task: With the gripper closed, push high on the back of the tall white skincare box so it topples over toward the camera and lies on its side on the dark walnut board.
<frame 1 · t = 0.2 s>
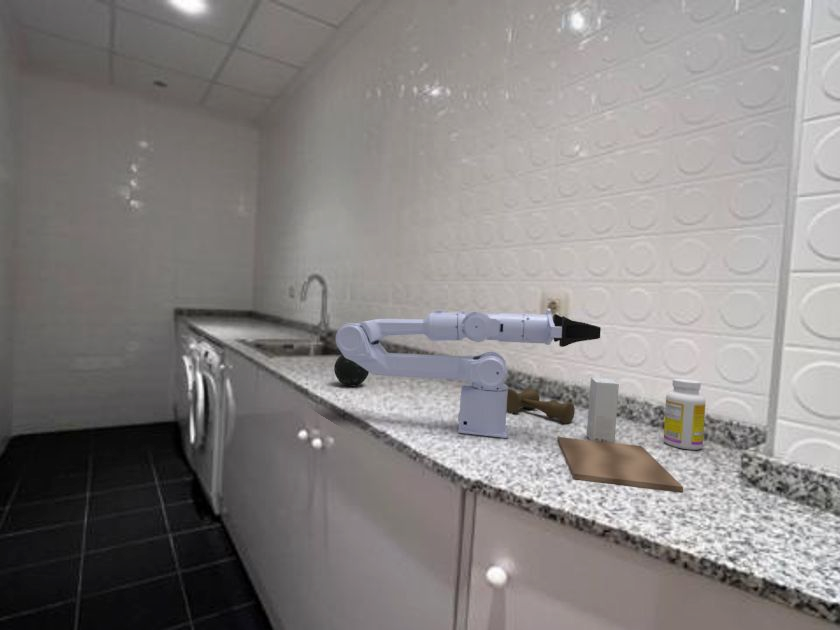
hand: (595, 331, 84), 22 cm above the worktop, tool horizontal, fingers open, 7 cm apart
kendama: (531, 415, 105), on the worktop
decorative stone: (350, 386, 127), on the worktop
skincare box: (599, 441, 86), on the worktop
walnut board: (611, 462, 74), on the worktop
supplement bottle: (682, 446, 86), on the worktop
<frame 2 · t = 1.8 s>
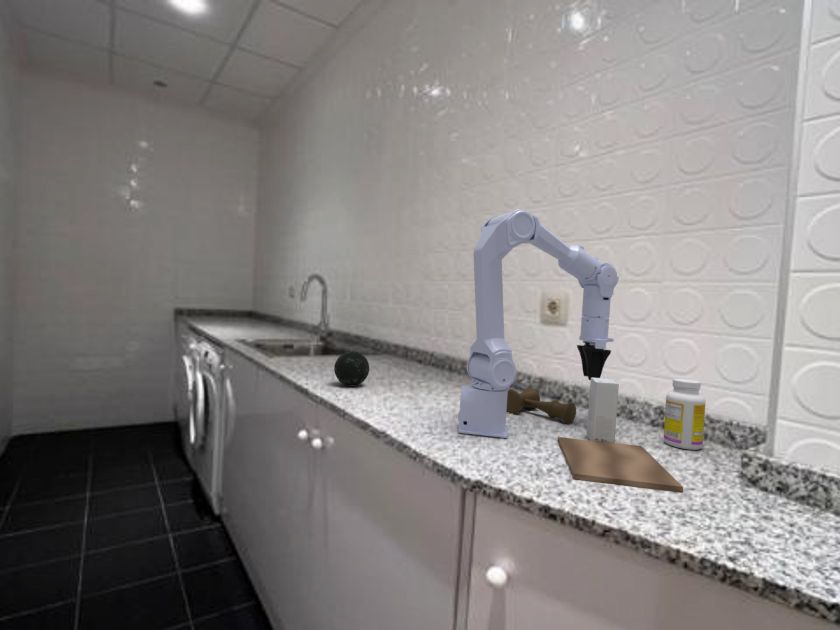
hand: (591, 378, 98), 10 cm above the worktop, tool pointing down, fingers open, 5 cm apart
nothing on the worktop moved.
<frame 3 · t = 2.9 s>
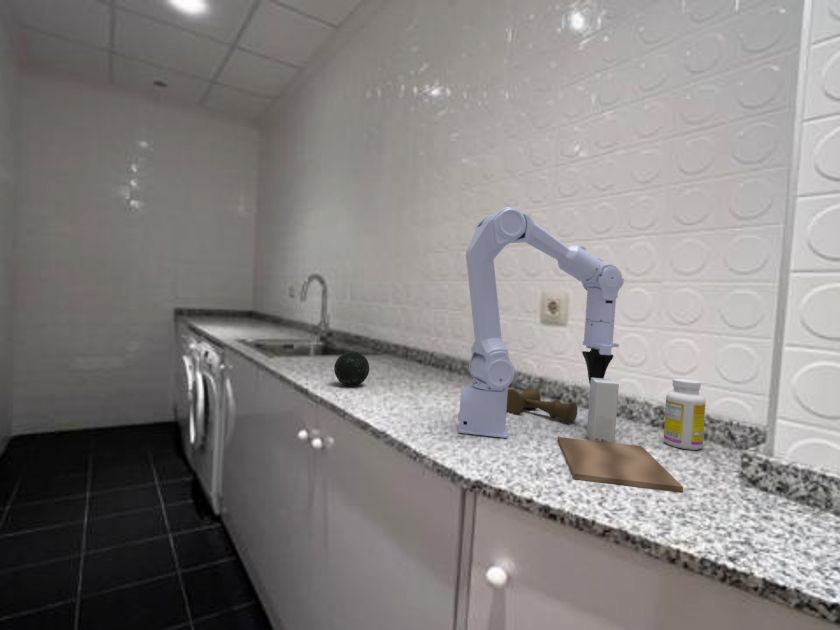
hand: (595, 385, 93), 10 cm above the worktop, tool pointing down, fingers closed
nothing on the worktop moved.
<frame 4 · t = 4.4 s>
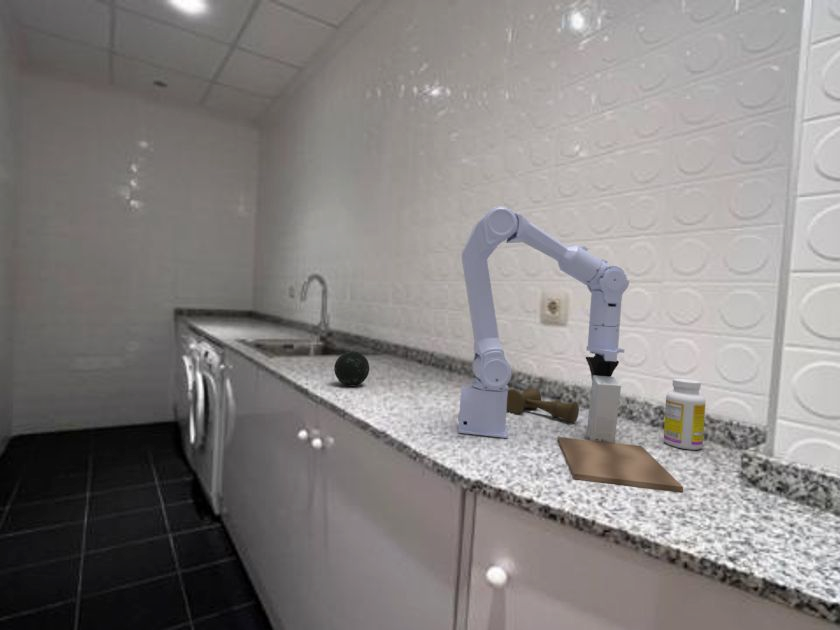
hand: (599, 392, 89), 9 cm above the worktop, tool pointing down, fingers closed
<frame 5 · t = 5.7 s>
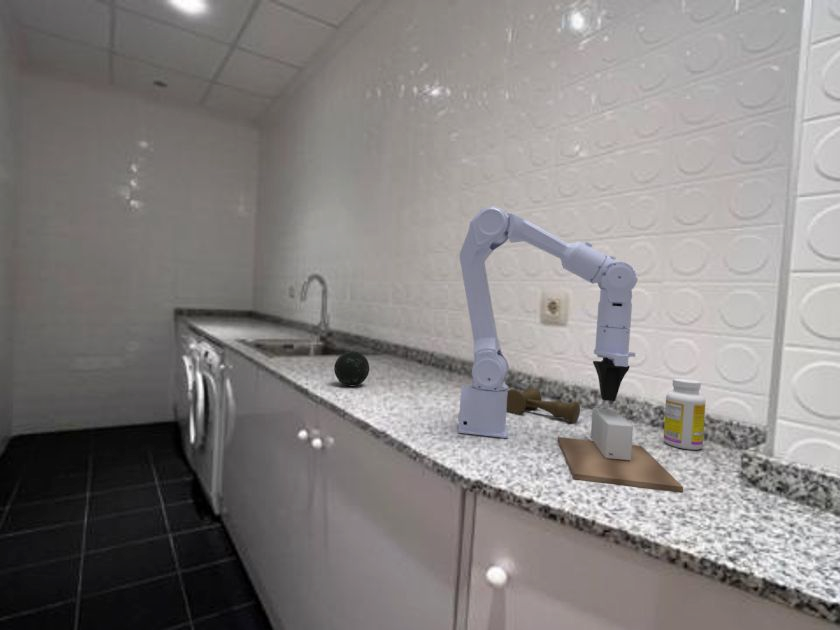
hand: (608, 400, 82), 9 cm above the worktop, tool pointing down, fingers closed
skincare box: (602, 422, 85), point 4 cm above the worktop, touching walnut board
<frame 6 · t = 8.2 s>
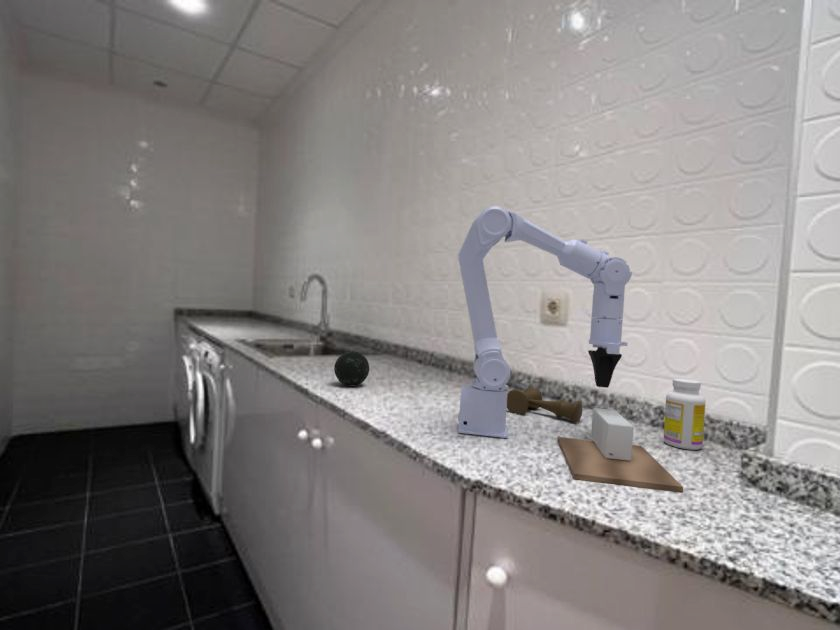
hand: (602, 386, 87), 10 cm above the worktop, tool pointing down, fingers closed
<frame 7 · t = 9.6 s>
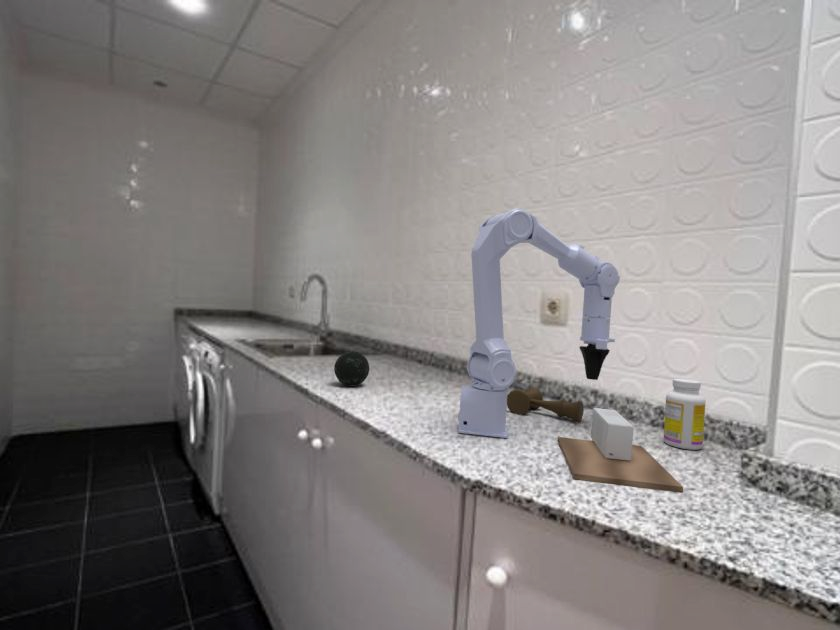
hand: (592, 379, 97), 10 cm above the worktop, tool pointing down, fingers closed
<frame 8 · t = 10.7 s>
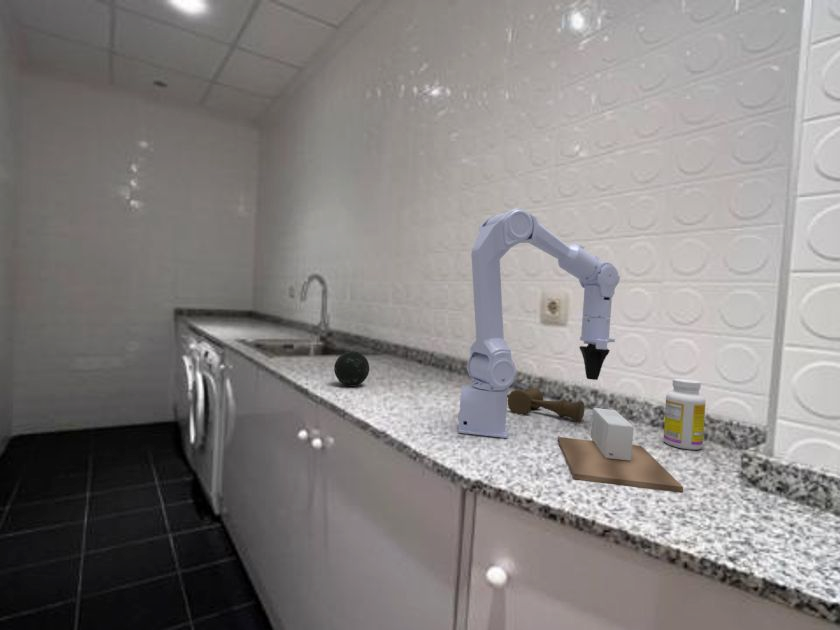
hand: (592, 379, 97), 10 cm above the worktop, tool pointing down, fingers closed
at the end: skincare box tilted 91°; skincare box inside the target area (3.5 cm from its centre), point 3.9 cm above the worktop; skincare box touching walnut board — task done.
